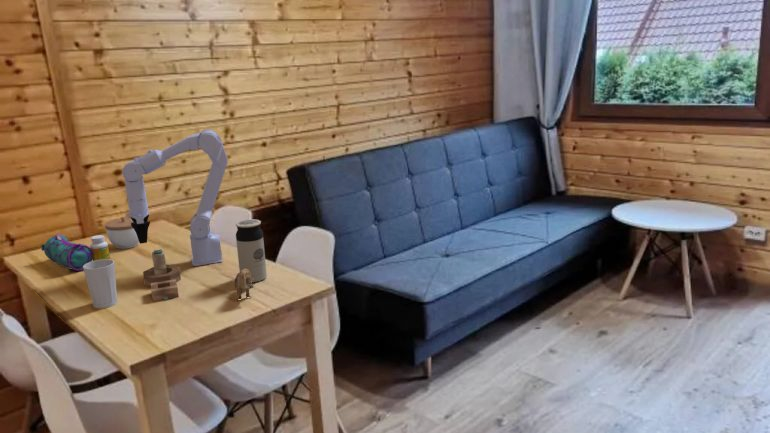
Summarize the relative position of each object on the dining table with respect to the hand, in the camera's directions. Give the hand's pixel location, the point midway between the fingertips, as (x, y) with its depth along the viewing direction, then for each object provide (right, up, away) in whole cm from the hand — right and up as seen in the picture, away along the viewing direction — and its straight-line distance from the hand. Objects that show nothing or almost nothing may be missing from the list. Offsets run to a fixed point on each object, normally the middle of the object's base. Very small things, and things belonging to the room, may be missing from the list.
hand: (143, 239), depth 195 cm
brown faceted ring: (+9, -12, -8) cm, 18 cm away
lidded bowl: (-17, -4, +27) cm, 32 cm away
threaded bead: (+14, -15, -20) cm, 29 cm away
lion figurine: (+39, -15, -22) cm, 47 cm away
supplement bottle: (-17, -9, +8) cm, 21 cm away
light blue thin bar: (+14, -15, -19) cm, 28 cm away
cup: (-1, -17, -25) cm, 30 cm away
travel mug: (+38, -12, -10) cm, 41 cm away
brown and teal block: (+9, -12, -8) cm, 18 cm away
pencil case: (-28, -9, +9) cm, 31 cm away
